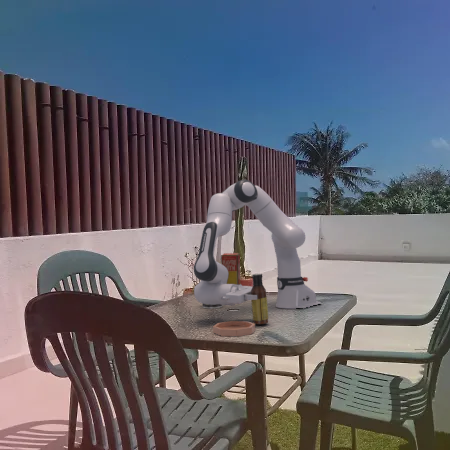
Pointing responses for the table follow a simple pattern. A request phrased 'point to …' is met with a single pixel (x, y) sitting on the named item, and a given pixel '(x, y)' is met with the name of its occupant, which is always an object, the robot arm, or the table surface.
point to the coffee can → (211, 306)
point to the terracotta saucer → (234, 328)
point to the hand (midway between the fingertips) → (261, 295)
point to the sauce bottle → (259, 301)
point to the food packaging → (232, 266)
